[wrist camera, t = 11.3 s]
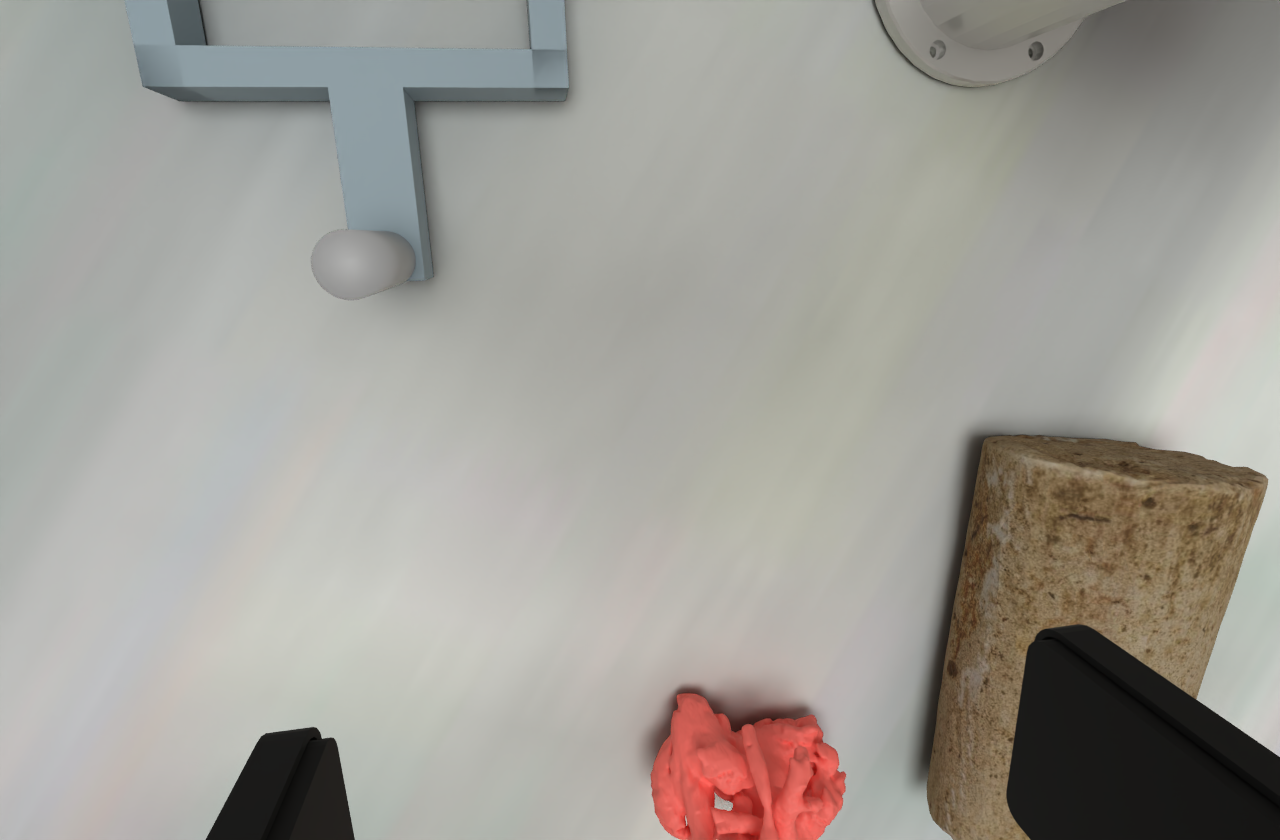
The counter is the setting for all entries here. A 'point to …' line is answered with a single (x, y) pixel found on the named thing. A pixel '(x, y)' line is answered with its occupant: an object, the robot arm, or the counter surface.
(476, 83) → the sliding frame
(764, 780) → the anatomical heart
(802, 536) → the counter surface
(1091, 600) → the core sample
